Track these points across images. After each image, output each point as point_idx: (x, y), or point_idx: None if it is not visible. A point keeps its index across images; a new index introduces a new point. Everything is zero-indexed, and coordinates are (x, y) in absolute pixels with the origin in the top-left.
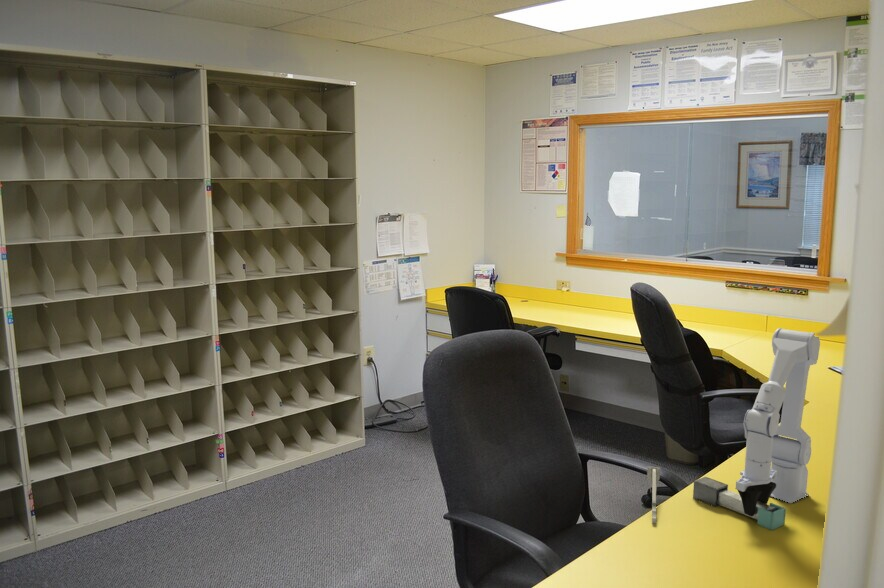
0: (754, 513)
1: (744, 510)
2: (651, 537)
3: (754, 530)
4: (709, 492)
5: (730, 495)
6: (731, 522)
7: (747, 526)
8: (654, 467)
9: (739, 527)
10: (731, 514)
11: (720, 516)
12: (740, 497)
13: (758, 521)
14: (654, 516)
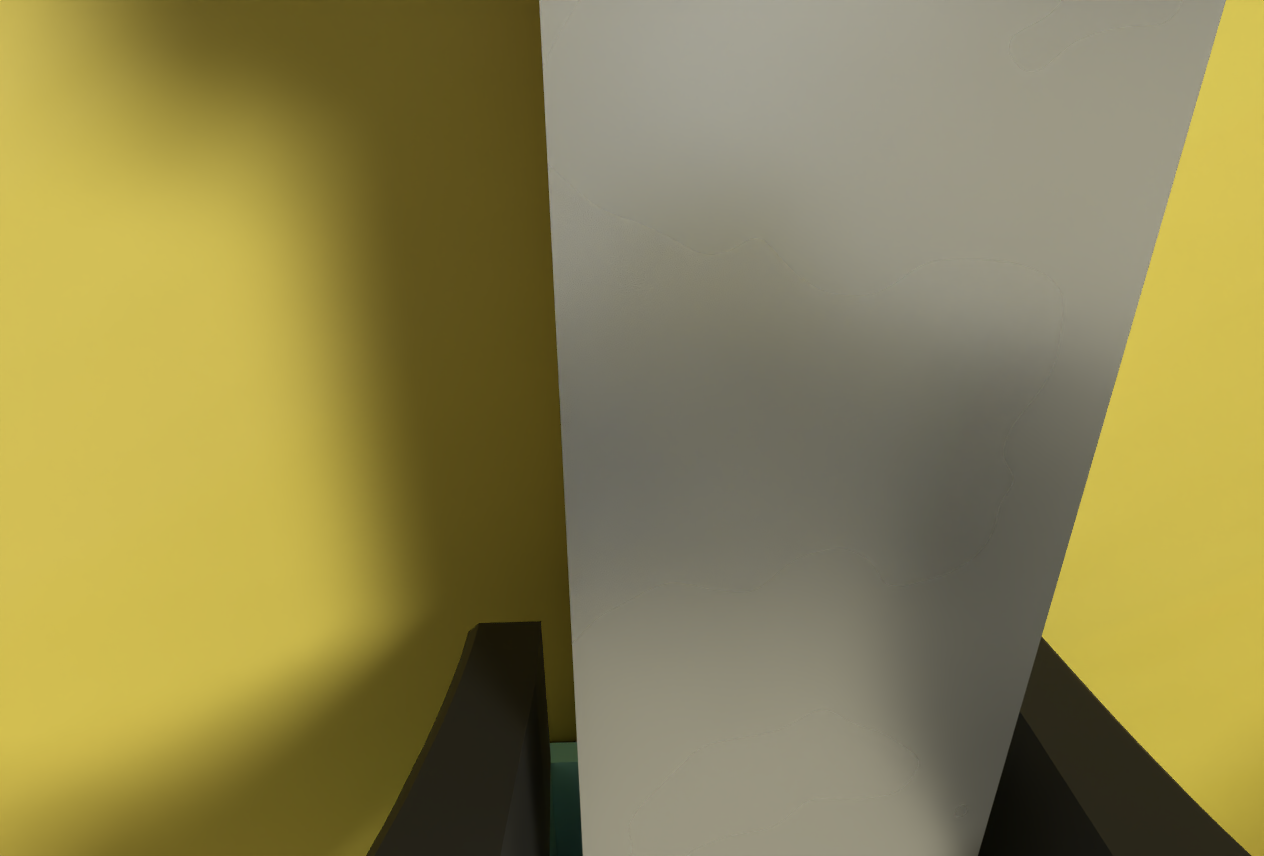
0: (549, 821)
1: (455, 688)
2: None
3: (247, 817)
4: None
5: (663, 263)
6: (67, 486)
7: (257, 707)
8: None
9: (62, 667)
10: (434, 248)
11: (33, 163)
12: (817, 554)
13: None
14: None
